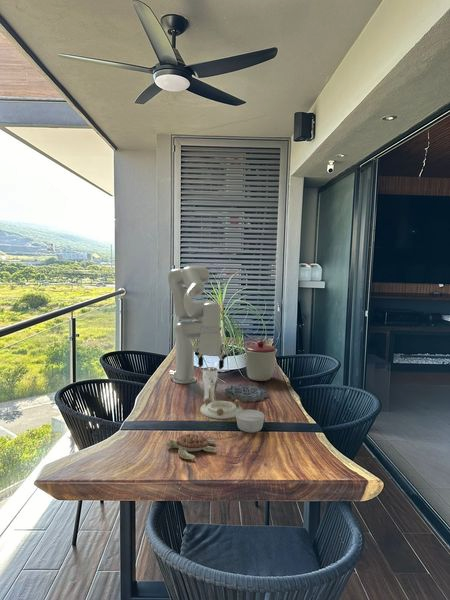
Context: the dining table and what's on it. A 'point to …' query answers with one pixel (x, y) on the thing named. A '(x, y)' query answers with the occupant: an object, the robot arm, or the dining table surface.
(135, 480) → the dining table surface
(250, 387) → the decorative tile
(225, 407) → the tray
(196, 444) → the decorative turtle
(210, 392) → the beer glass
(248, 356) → the canister
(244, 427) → the ramekin
